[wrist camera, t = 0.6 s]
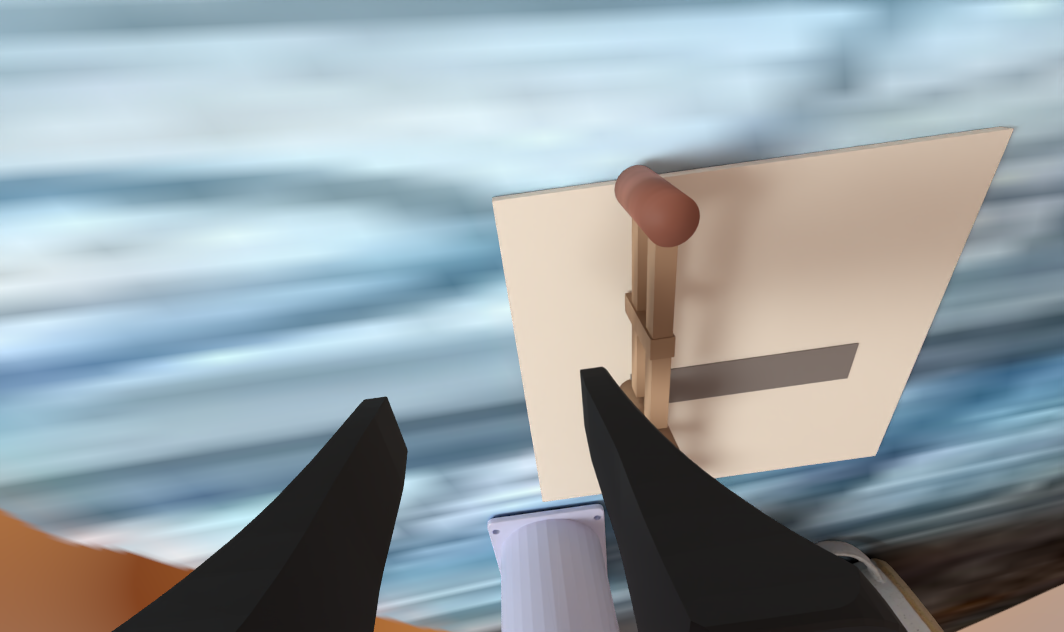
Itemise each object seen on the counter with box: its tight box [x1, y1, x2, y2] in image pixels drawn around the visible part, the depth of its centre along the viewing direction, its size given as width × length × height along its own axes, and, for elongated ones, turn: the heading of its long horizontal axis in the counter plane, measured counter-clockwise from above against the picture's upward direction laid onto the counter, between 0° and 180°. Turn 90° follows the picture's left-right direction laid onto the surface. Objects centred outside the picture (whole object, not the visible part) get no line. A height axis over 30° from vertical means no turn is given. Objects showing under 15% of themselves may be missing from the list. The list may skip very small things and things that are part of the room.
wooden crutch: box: [614, 165, 700, 429], centre depth 19 cm, size 11×2×4 cm, turn 7°
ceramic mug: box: [815, 541, 944, 632], centre depth 33 cm, size 11×8×8 cm
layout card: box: [492, 127, 1014, 502], centre depth 24 cm, size 20×22×1 cm
